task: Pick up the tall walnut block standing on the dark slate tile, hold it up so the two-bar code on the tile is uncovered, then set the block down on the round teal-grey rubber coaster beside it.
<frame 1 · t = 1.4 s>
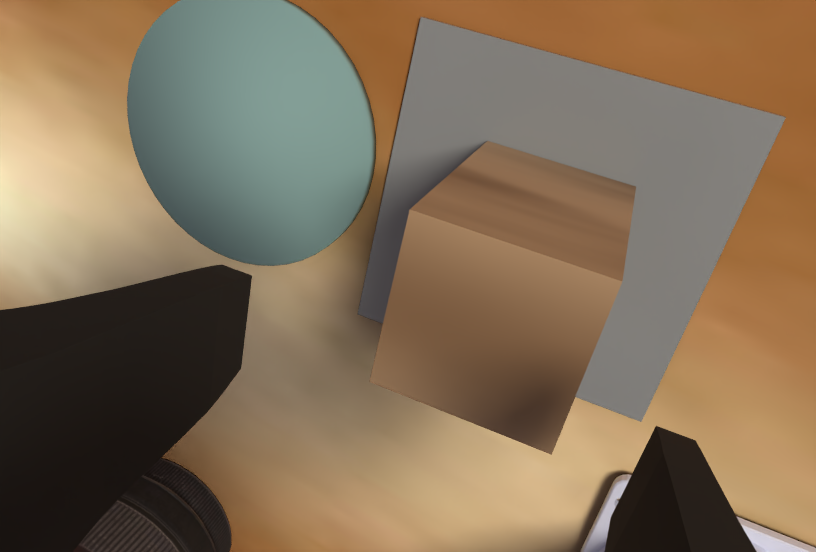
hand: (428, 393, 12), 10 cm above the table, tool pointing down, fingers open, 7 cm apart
coaster: (250, 134, 23), on the table
walnut block: (537, 232, 21), resting on code tile
camera lens: (171, 511, 32), on the table
code tile: (538, 229, 21), on the table
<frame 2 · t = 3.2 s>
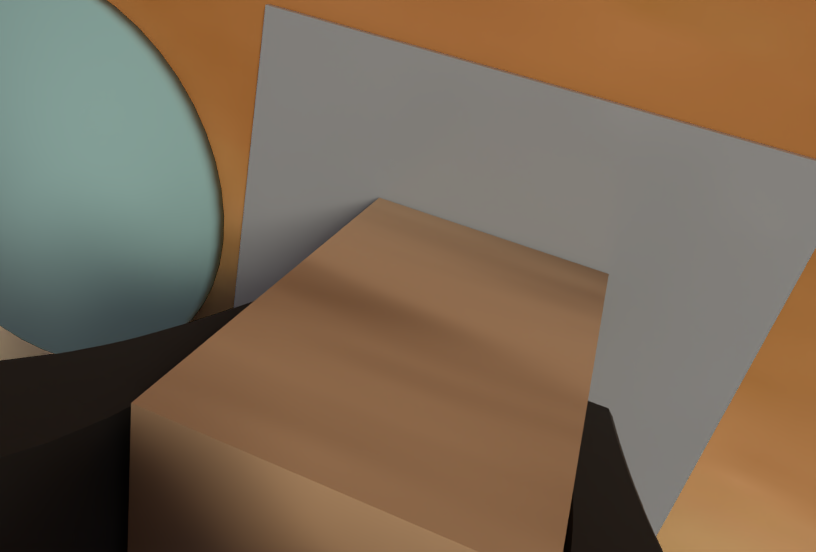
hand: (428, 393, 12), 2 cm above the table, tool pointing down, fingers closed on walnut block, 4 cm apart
coaster: (50, 178, 16), on the table
walnut block: (460, 333, 13), resting on code tile, touching gripper
code tile: (463, 328, 14), on the table
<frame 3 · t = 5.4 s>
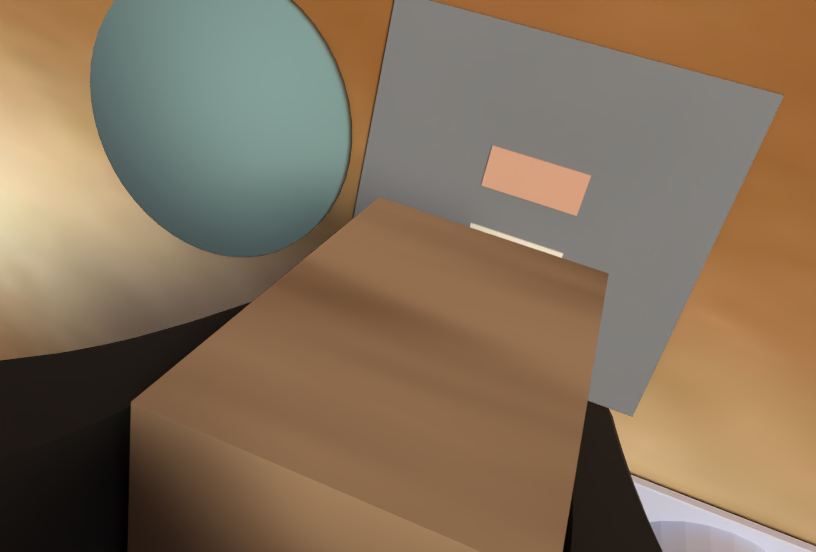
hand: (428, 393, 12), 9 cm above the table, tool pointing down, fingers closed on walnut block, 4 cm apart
coaster: (220, 118, 22), on the table
walnut block: (460, 333, 13), point 7 cm above the table, touching gripper
code tile: (523, 217, 20), on the table
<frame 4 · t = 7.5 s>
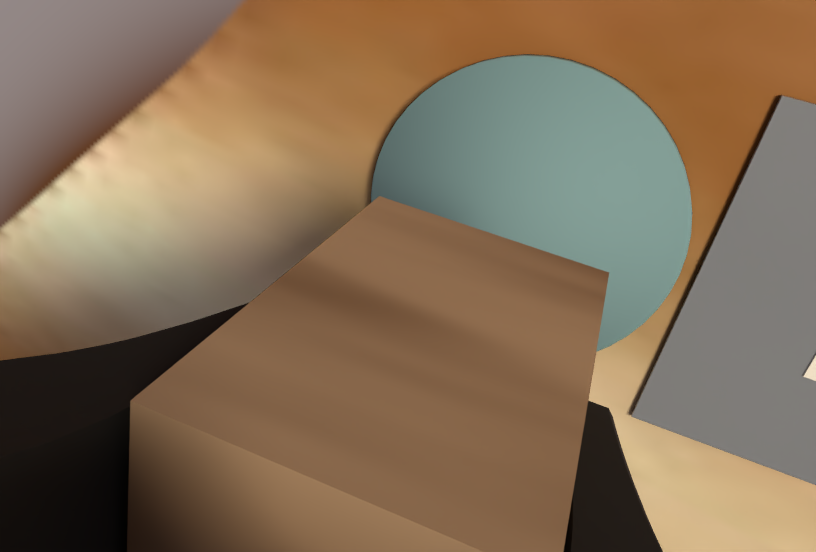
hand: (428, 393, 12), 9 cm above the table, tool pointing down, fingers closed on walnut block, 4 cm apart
coaster: (522, 217, 20), on the table
walnut block: (460, 332, 13), point 7 cm above the table, touching gripper
when the fingers open (4 cm above the table, at t = 9.7 s): walnut block drops 1 cm, resting on coaster.
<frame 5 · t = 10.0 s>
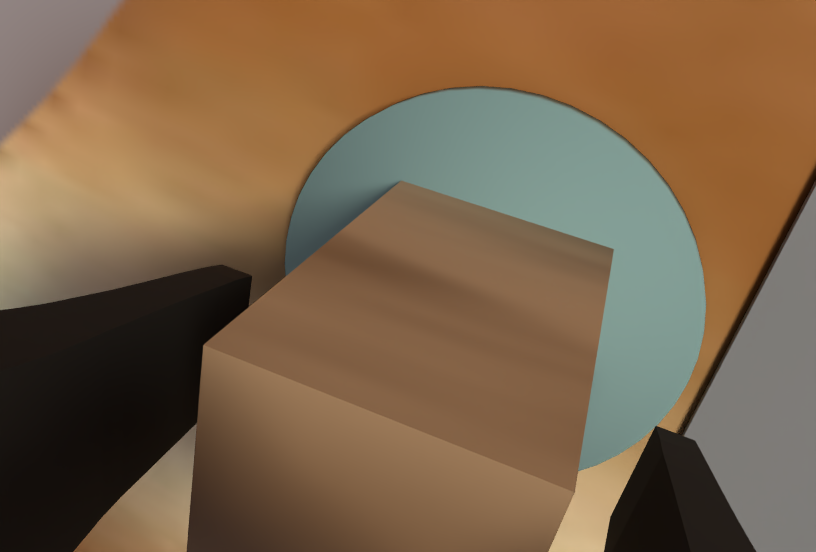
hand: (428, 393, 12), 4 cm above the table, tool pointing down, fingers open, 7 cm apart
coaster: (480, 297, 15), on the table
walnut block: (476, 307, 15), resting on coaster
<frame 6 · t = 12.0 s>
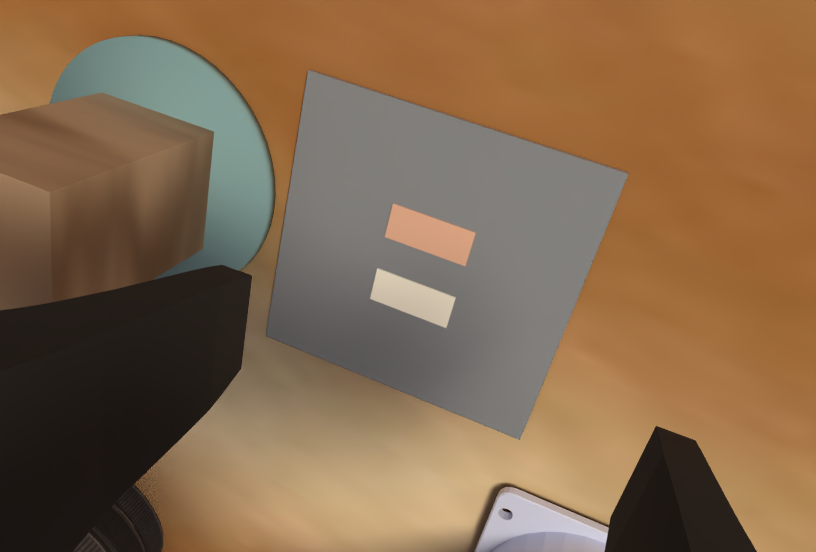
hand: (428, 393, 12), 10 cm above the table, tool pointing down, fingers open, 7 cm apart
coaster: (162, 168, 24), on the table
walnut block: (153, 172, 24), resting on coaster
camera lens: (107, 511, 34), on the table
code tile: (422, 265, 22), on the table
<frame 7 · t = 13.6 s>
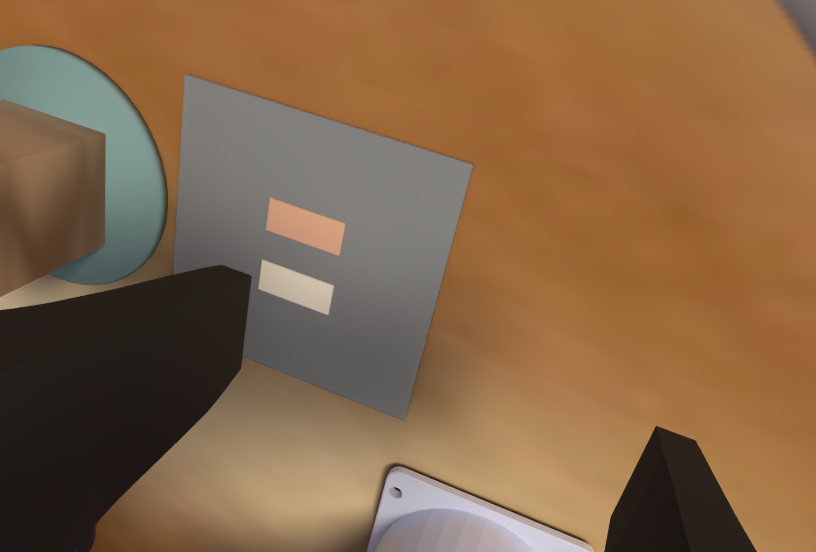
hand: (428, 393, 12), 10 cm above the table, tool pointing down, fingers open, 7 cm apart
coaster: (65, 170, 26), on the table
walnut block: (55, 173, 25), resting on coaster
code tile: (302, 255, 24), on the table
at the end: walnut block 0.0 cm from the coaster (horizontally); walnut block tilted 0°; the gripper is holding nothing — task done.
